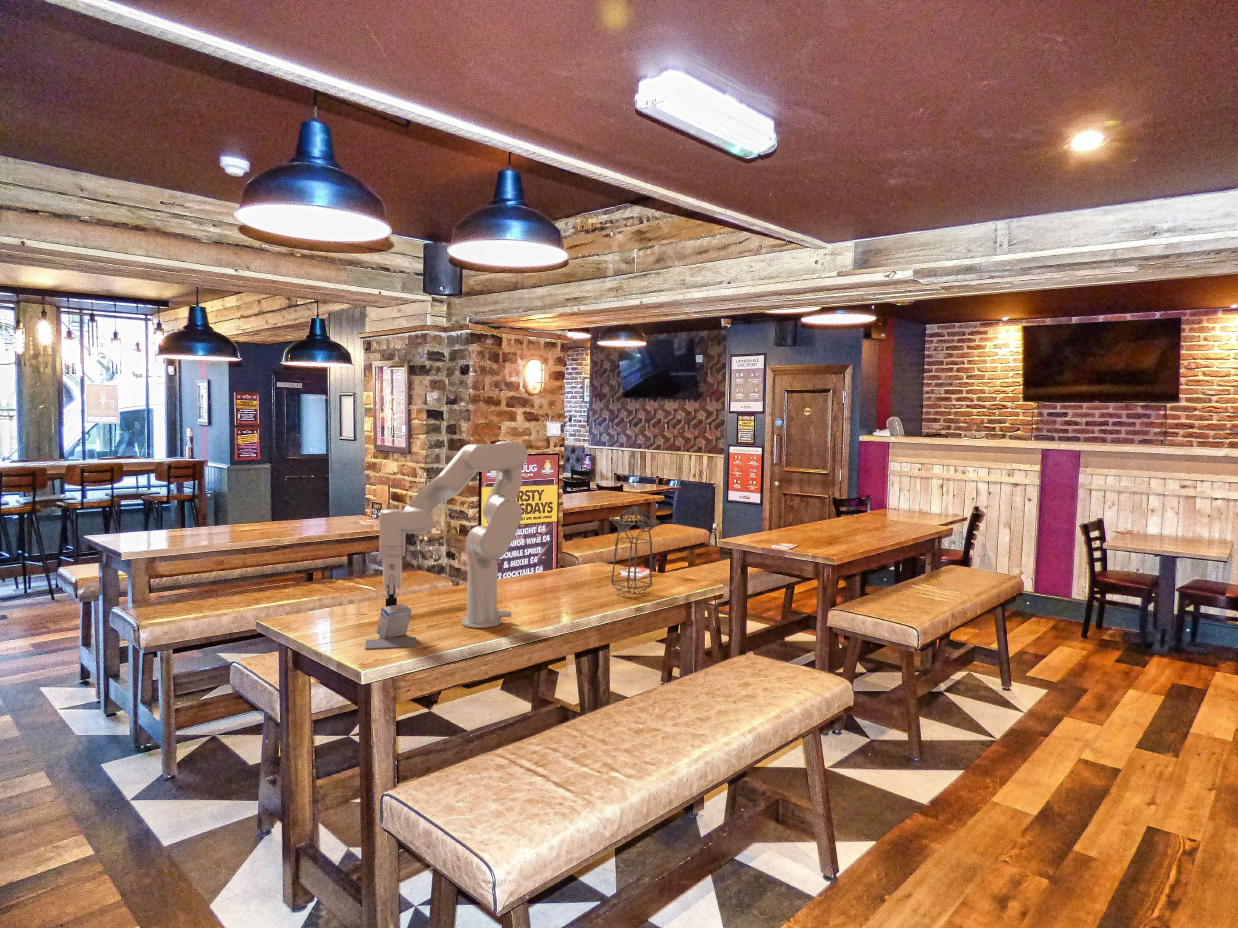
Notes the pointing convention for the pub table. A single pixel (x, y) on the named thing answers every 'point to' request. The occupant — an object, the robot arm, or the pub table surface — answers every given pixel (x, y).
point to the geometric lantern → (638, 511)
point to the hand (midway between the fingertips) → (391, 610)
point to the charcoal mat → (390, 643)
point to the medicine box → (393, 621)
